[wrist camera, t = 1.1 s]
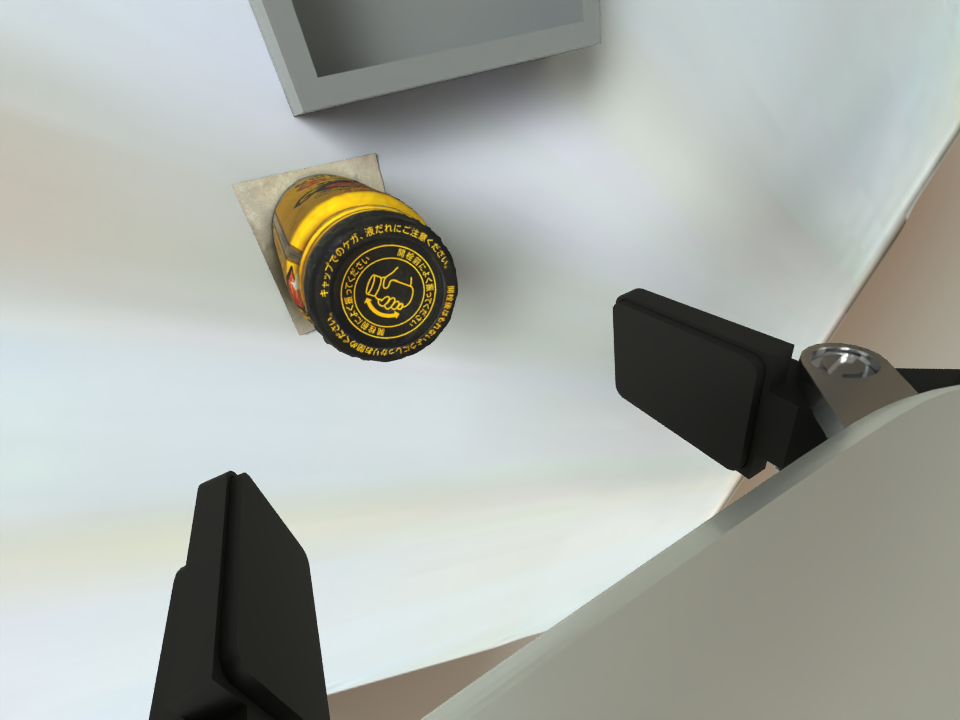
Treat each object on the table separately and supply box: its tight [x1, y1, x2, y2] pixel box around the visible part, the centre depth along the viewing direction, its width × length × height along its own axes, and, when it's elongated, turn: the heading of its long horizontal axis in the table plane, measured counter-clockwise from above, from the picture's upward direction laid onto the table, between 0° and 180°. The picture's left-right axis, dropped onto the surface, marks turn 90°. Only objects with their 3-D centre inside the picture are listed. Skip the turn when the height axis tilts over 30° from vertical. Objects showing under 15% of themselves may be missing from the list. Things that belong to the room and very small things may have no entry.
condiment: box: [232, 153, 458, 362], centre depth 19 cm, size 7×8×12 cm
